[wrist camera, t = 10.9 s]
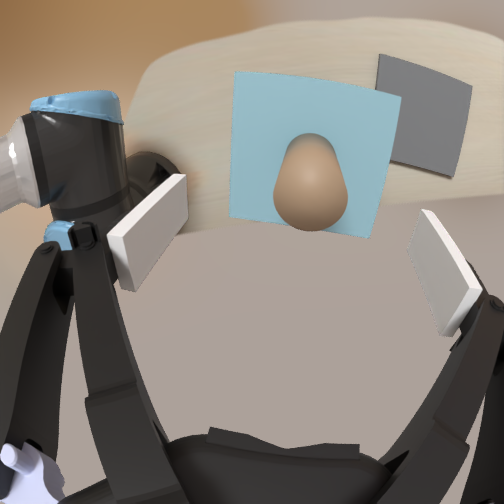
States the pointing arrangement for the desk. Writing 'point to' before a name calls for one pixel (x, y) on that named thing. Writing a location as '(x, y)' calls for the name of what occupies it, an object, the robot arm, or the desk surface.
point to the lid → (309, 152)
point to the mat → (426, 114)
